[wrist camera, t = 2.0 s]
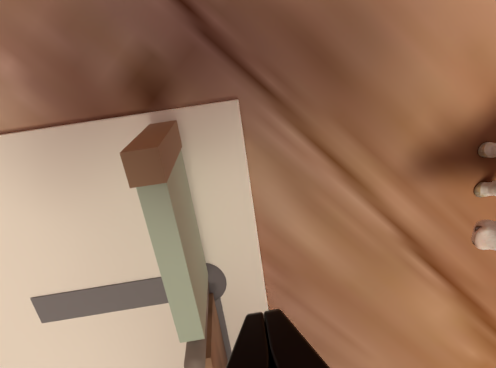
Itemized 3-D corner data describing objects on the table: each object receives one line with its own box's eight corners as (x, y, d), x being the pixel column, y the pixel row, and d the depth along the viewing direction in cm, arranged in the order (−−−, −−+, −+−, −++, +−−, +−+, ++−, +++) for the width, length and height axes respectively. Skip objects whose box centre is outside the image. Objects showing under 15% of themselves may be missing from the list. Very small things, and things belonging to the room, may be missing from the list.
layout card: (279, 386, 26) (280, 392, 25) (20, 430, 25) (16, 437, 25) (238, 98, 17) (238, 100, 17) (-145, 156, 17) (-155, 158, 17)
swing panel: (209, 274, 21) (206, 345, 15) (187, 278, 20) (177, 350, 15) (176, 120, 17) (158, 147, 12) (149, 124, 17) (119, 152, 12)
